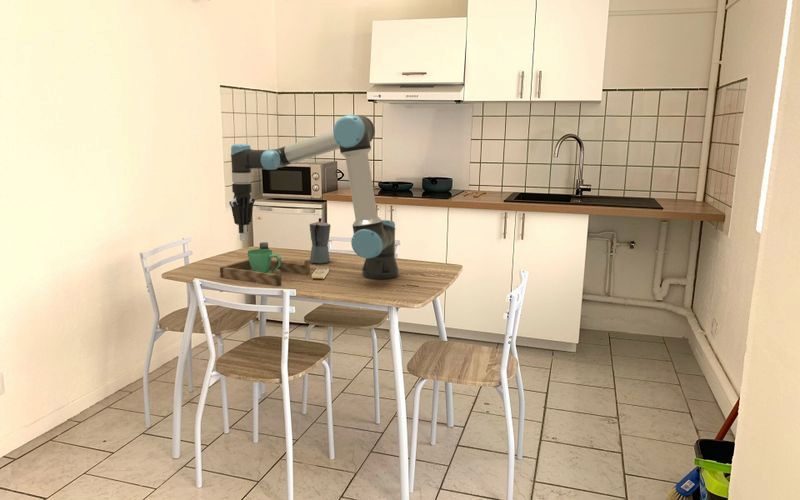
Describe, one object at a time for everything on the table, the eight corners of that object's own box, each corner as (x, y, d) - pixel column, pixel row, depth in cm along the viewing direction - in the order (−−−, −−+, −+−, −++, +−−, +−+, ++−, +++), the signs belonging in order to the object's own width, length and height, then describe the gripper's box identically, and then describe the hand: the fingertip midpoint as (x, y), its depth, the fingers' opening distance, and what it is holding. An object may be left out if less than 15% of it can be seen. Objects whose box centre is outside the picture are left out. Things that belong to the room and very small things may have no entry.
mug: (243, 276, 240) (242, 252, 238) (257, 271, 249) (256, 248, 247) (274, 280, 235) (273, 255, 233) (287, 274, 244) (287, 251, 242)
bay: (316, 272, 249) (315, 248, 247) (278, 285, 226) (277, 259, 224) (260, 264, 261) (260, 241, 259) (220, 277, 239) (219, 251, 237)
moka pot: (332, 259, 275) (332, 216, 271) (328, 266, 260) (327, 221, 256) (312, 258, 275) (311, 215, 271) (306, 266, 260) (305, 221, 256)
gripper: (245, 181, 246) (246, 237, 251) (223, 183, 235) (225, 242, 240) (259, 182, 243) (261, 238, 248) (238, 184, 232) (240, 244, 236)
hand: (243, 240), depth 244 cm, fingers closed
